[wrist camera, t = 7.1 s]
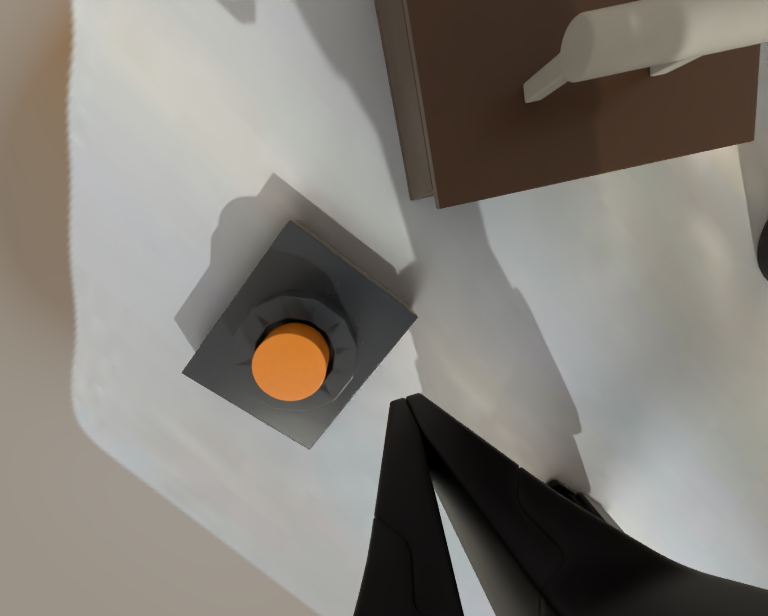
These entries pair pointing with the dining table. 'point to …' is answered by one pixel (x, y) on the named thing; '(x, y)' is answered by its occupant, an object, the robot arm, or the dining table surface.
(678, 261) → the dining table surface
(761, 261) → the travel mug
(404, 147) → the brown lidded box
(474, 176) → the lid
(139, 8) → the dining table surface
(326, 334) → the control block
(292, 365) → the release button
